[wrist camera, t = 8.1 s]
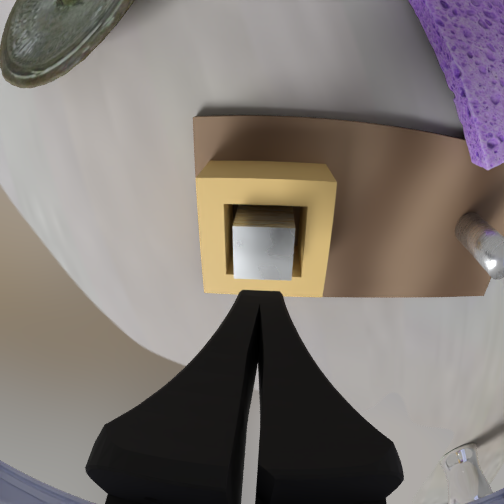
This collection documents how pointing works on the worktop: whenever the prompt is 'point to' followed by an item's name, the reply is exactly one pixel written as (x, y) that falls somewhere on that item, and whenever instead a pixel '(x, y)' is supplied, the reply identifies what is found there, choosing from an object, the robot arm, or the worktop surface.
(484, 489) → the beer glass
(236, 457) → the robot arm
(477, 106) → the sponges
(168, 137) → the worktop surface
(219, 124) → the stand board
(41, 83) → the lid
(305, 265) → the collar
